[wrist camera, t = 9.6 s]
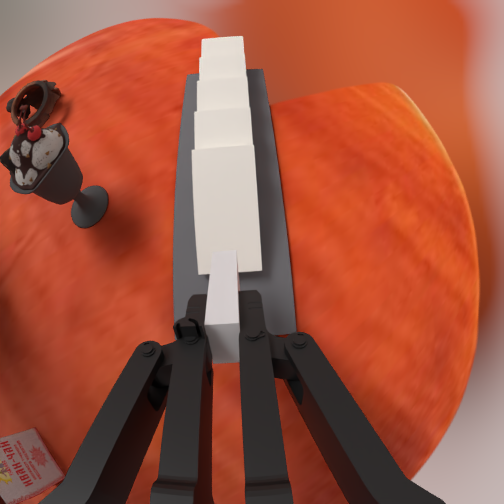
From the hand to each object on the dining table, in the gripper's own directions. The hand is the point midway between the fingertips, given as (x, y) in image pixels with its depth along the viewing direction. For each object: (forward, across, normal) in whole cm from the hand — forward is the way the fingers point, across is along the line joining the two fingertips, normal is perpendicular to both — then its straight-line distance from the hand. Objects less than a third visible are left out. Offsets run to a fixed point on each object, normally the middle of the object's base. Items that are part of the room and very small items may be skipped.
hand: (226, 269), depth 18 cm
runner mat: (+12, 0, +4) cm, 13 cm away
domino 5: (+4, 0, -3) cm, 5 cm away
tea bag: (-10, -24, -18) cm, 32 cm away
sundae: (+11, -15, +2) cm, 19 cm away
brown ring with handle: (+24, -30, +16) cm, 42 cm away
